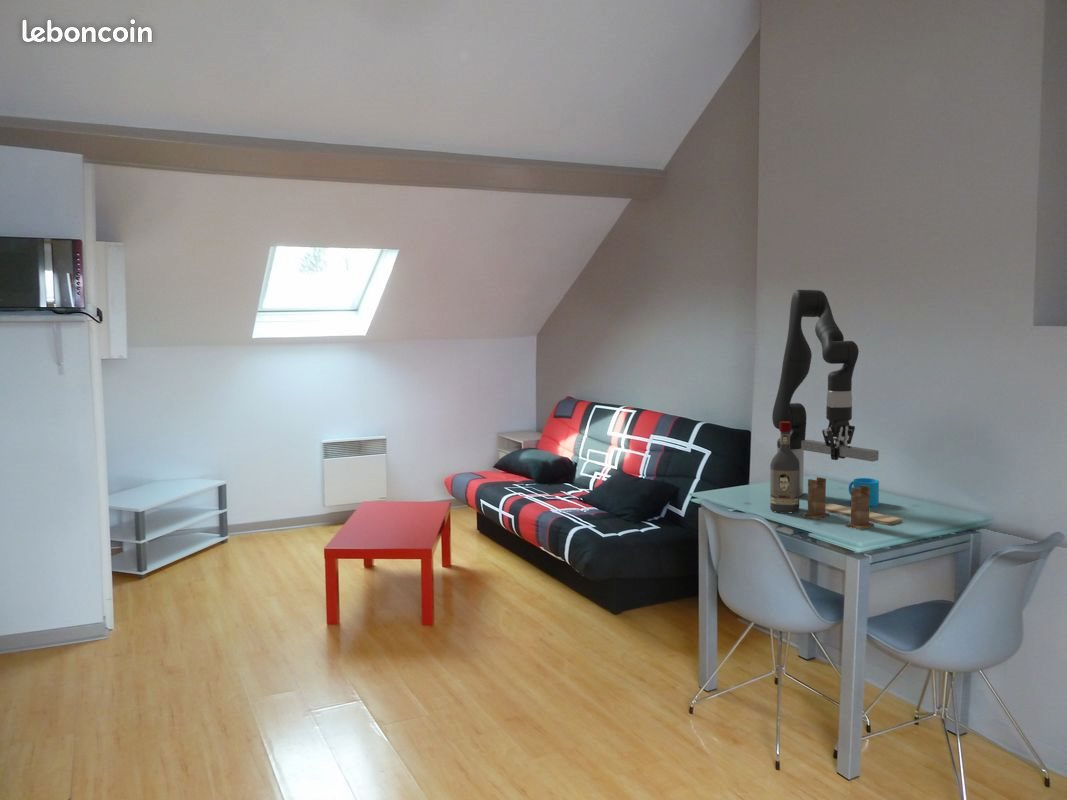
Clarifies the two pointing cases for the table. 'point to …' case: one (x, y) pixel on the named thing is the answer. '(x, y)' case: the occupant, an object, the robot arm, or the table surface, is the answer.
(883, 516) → the mat
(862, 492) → the post
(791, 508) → the liquor
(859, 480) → the mug
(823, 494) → the post
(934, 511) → the table surface
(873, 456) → the rail
